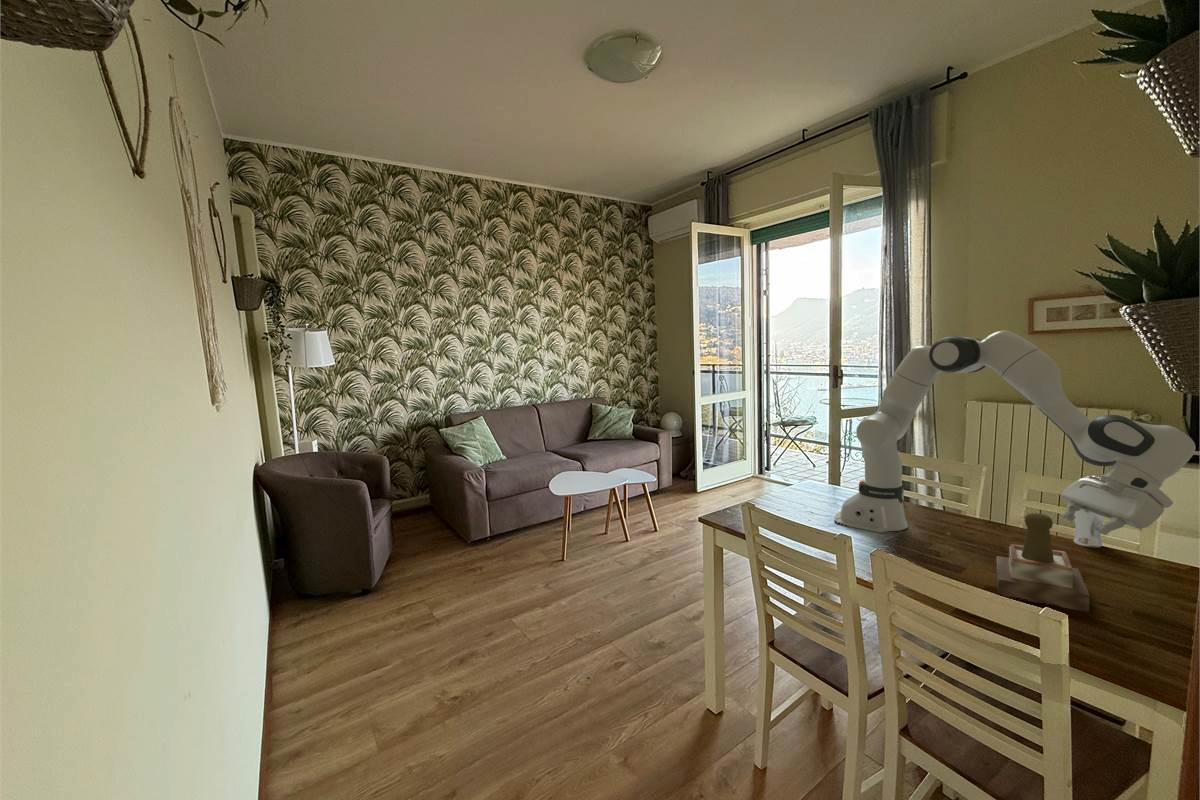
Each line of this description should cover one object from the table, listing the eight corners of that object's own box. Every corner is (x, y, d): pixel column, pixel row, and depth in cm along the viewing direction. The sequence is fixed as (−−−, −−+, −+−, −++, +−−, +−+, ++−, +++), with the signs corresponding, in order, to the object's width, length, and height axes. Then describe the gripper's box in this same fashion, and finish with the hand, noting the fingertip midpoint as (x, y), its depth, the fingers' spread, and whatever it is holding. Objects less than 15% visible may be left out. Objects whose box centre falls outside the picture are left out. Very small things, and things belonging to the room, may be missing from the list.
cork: (1060, 563, 120) (1061, 519, 119) (1031, 562, 121) (1032, 518, 120) (1043, 553, 126) (1044, 510, 125) (1016, 552, 127) (1016, 510, 126)
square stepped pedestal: (998, 595, 122) (998, 560, 122) (996, 570, 135) (996, 538, 134) (1088, 612, 113) (1090, 574, 112) (1077, 583, 125) (1078, 549, 125)
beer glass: (1104, 542, 148) (1105, 493, 147) (1104, 550, 143) (1106, 499, 142) (1071, 537, 153) (1073, 489, 152) (1070, 544, 148) (1072, 495, 147)
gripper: (1079, 465, 130) (1038, 504, 132) (1160, 486, 110) (1110, 531, 111) (1097, 482, 130) (1056, 520, 132) (1181, 505, 110) (1131, 550, 111)
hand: (1082, 525), depth 121 cm, fingers open, 8 cm apart
